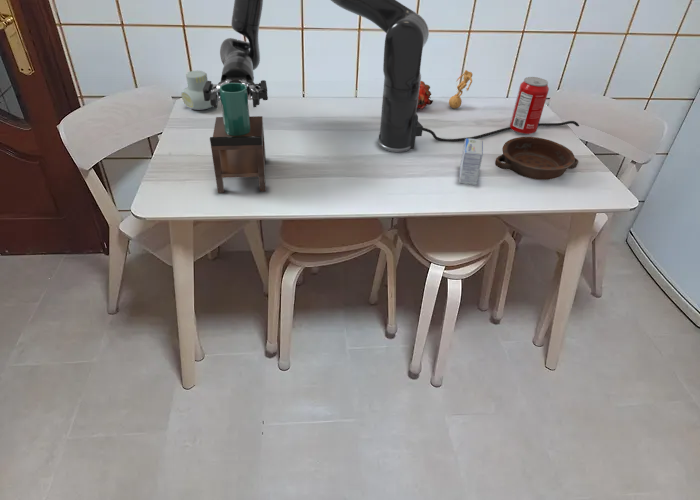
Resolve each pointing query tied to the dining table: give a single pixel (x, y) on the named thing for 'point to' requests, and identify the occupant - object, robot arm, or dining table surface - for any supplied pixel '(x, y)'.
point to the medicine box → (471, 161)
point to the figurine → (460, 90)
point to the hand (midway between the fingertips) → (234, 103)
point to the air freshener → (195, 91)
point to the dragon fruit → (424, 96)
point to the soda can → (529, 105)
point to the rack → (239, 153)
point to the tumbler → (235, 108)
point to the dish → (536, 158)
